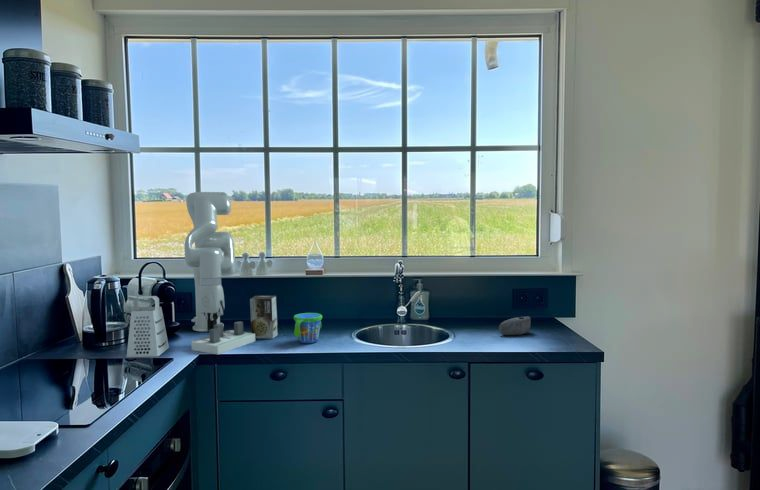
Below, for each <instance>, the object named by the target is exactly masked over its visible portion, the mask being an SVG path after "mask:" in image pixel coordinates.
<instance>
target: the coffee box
mask: <svg viewBox="0 0 760 490" xmlns="http://www.w3.org/2000/svg"><path fill="white" fill-rule="evenodd" d="M277 301H278V299H277V295H254V296H253V297H250V298H249V307H250V333H254V334H255V339H274V338H275V337H277V336H278V309H277V308H278V305H277Z"/></svg>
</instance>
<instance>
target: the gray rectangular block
mask: <svg viewBox="0 0 760 490" xmlns="http://www.w3.org/2000/svg"><path fill="white" fill-rule="evenodd" d="M233 331H234V333H233V334H234V335H241V334H244V332H245V331H244V322H243V321H235V322H234V323H233Z"/></svg>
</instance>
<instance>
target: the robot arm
mask: <svg viewBox="0 0 760 490" xmlns="http://www.w3.org/2000/svg"><path fill="white" fill-rule="evenodd" d="M185 202H186V209H187V212H188V215H189V217H190V219H191V221H192V224H193V228H192V229H191V231H190V232H188V234H187V236H186V237H185V240H184V245H183V246H184V260H185V265H187V267H190V268H192V272H193V277H194V278H193V279H194V289H195V290H194V291H195V292H194V293H195V315H196V316H194V317H193V318H192V319H191V322H192V323H194V325H193V326H192V331H195V332H209V330H211V329H214V326H213V325H216V324H223V328H224V327H225V325H224V323H223V322H221V316H224V311H225V303H226V302H225V294H224V288H223V286H222V277H231V276H233V275H234V274H235V273H236V269H237V268H236V255H235V244H234V239H233V236H232V234H231V233H230V232H229V231H217V230H218V219H217V216H228V215H229V214H230V213H231V210H232V204H231V198H230V196H229V195H228V194H227V192H224V191H223V192H221V191H216V192H215V191H195V192H194V191H193V192H191V193H188V195H187V196H186V199H185ZM193 244H194V246H195V247H193Z"/></svg>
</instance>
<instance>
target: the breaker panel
mask: <svg viewBox="0 0 760 490" xmlns="http://www.w3.org/2000/svg"><path fill="white" fill-rule="evenodd" d="M243 332H244V334H241V335H234V334H233V333H234V329H229V330H225V331H223V335H225V336H222V337H220V340H221V341H219V342H216V343H211V342H208V341H210V335H209V336H206V337H203V338H199V339H196V340H192V341H191V351H196V352H201V353H206V354H213V355H221V354H224V353H226V352H229V351H231V350H235V349H237V348H238V349H239V348H241V347H243V346H246V345H249V344H252V343H254V342H256V338H255V334H254V333H251V332H247V331H243Z"/></svg>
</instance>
